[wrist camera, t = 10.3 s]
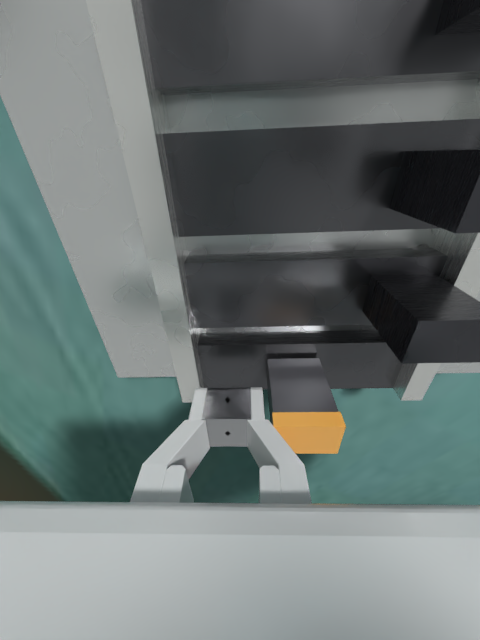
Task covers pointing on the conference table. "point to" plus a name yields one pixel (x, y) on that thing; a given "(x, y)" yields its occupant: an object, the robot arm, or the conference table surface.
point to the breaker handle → (303, 406)
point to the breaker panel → (260, 180)
